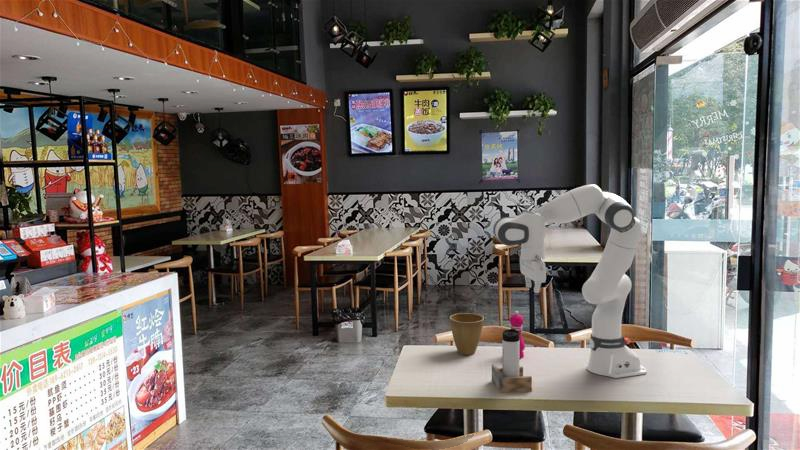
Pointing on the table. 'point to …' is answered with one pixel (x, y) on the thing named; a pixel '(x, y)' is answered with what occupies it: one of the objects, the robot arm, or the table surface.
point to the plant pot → (466, 331)
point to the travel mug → (510, 353)
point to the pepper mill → (516, 324)
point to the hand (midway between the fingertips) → (532, 289)
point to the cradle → (511, 381)
